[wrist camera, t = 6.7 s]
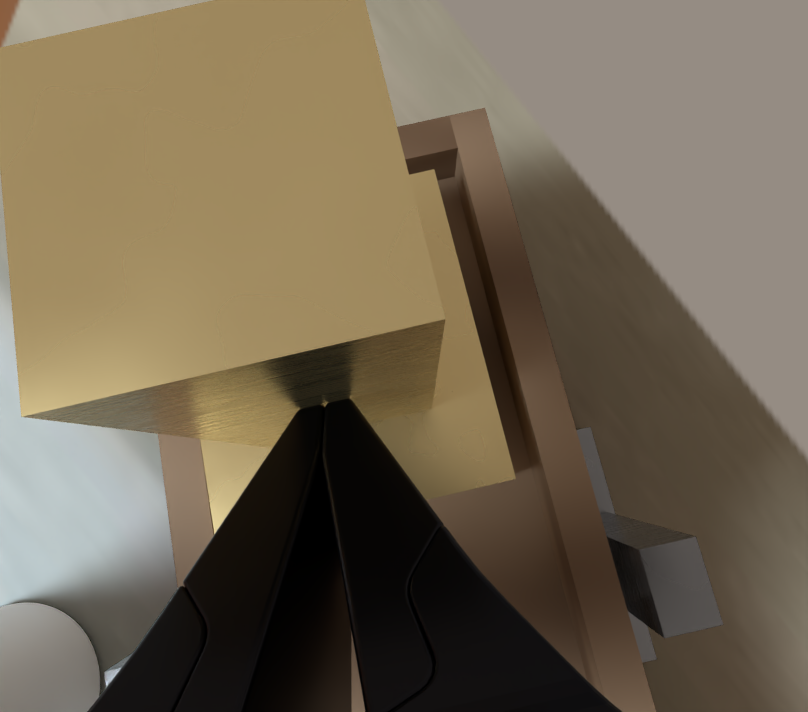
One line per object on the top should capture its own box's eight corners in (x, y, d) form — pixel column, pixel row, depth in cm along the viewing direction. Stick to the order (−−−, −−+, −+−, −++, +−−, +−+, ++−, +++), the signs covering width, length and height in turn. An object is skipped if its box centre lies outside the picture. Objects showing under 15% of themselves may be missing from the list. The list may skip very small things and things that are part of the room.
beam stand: (645, 649, 20) (780, 763, 12) (232, 744, 19) (115, 918, 12) (582, 428, 21) (669, 411, 14) (199, 515, 21) (78, 544, 13)
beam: (727, 1084, 14) (863, 1362, 10) (319, 1181, 14) (271, 1507, 10) (481, 186, 19) (498, 104, 15) (183, 252, 19) (111, 189, 15)
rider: (503, 476, 14) (671, 498, 5) (244, 538, 14) (-134, 689, 5) (432, 205, 16) (448, -202, 6) (199, 258, 16) (-153, -71, 6)
